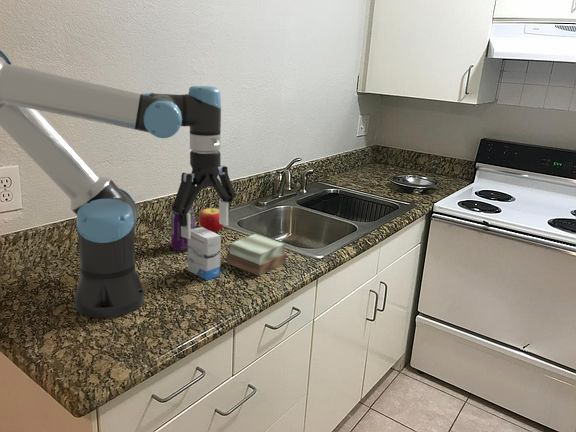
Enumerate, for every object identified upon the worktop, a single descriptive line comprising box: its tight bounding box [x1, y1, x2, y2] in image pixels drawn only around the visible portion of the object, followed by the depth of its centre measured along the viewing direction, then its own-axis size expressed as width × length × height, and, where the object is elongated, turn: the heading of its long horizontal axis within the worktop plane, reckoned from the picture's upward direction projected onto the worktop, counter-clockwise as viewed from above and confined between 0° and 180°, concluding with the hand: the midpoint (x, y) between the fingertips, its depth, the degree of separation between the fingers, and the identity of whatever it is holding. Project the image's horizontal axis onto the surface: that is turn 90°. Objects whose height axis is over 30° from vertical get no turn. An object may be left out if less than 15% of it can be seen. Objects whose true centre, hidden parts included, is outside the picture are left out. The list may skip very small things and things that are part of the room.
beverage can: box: [170, 207, 196, 252], centre depth 144 cm, size 7×7×12 cm
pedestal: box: [226, 233, 287, 277], centre depth 138 cm, size 12×12×6 cm
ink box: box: [187, 227, 222, 281], centre depth 129 cm, size 8×5×12 cm, turn 47°
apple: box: [198, 202, 224, 233], centre depth 159 cm, size 8×8×10 cm
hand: (205, 230), depth 127 cm, fingers open, 13 cm apart
